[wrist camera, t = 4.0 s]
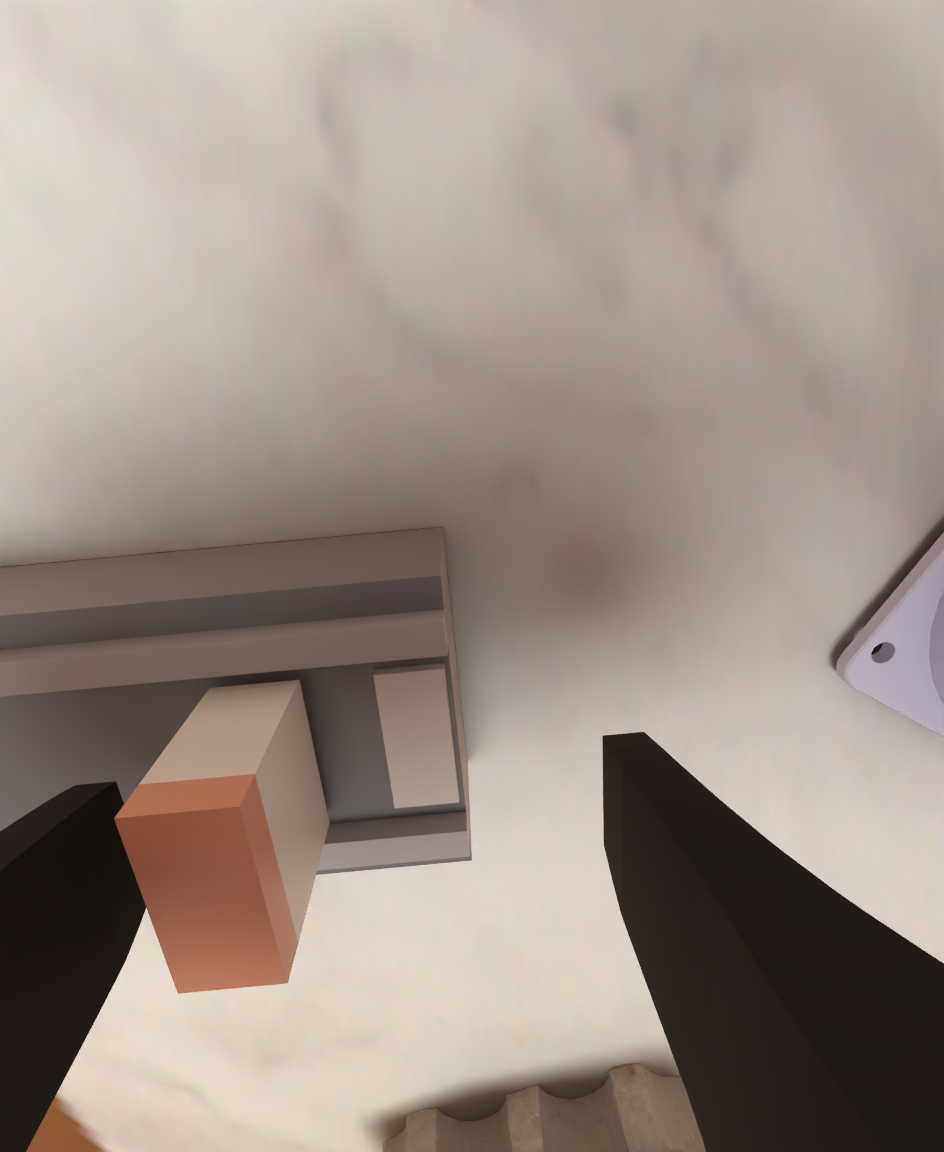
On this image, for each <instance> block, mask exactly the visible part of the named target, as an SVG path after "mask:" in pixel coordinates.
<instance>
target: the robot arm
mask: <svg viewBox="0 0 944 1152" xmlns="http://www.w3.org/2000/svg"><path fill="white" fill-rule="evenodd" d="M880 643H883V645H882V647H881V649H880V650H879V651H878V652H876V653H875V654H872V655H871V653H872V651H873V649H874V647H876V646H877V645H878V644H880ZM836 669H837V672H838V675H839V676H840V677H841V678H842V679H843V680H844V681H846V682H847V683H848V684H849V685H850V686H852V687H853V688H855V689H857V690H859V691H861V692H863V693H864V694H866V695H868V696H870V697H872V698H873V699H875V700H877V701H879V702H881V703H883V704H884V705H886V706H888V707H890V708H892V709H894V710H895V711H897V712H899V713H901V714H903V715H904V716H906V717H908V718H910V719H912V720H914V721H915V722H917V723H919V724H921V725H923V726H925V727H926V728H928V729H930V730H932V731H934V732H935V733H937V734H939V735H941V736H943V737H944V532H943V533H942V535H941V536H940V537H939V538H938V539H937V541H936V542H935V543H934V544H933V545H932V547H931V548H930V549H929V550H928V551H927V553H926V554H925V555H924V556H923V557H922V558H921V560H920V561H919V562H918V563H917V564H916V566H915V567H914V568H913V569H912V570H911V572H910V573H909V574H908V575H907V576H906V578H905V579H904V580H903V581H902V582H901V584H900V585H899V586H898V587H897V588H896V590H895V591H894V592H893V593H892V594H891V595H890V597H889V598H888V599H887V600H886V601H885V603H884V604H883V605H882V606H881V607H880V609H879V610H878V611H877V612H876V613H875V615H874V616H873V617H872V618H871V619H870V621H869V622H868V623H867V624H866V625H865V627H864V628H863V629H862V630H861V631H860V632H859V634H858V635H857V636H856V637H855V638H854V640H853V641H852V642H851V643H850V644H849V646H848V647H847V648H846V649H845V650H844V652H843V653H842V654H841V656H840V657H839V659H838V661H837V667H836ZM123 805H124V802H123V799H122V797H121V794H120V791H119V788H118V785H117V783H116V781H114V782H103V783H92V784H81V785H74V786H73V787H71V788H69V789H67V790H65V791H64V792H62V793H60V794H58V795H57V796H55V797H53V798H52V799H50V800H48V801H47V802H45V803H43V804H42V805H40V806H39V807H37V808H35V809H34V810H32V811H31V812H29V813H28V814H26V815H24V816H23V817H21V818H20V819H18V820H17V821H15V822H14V823H12V824H11V825H9V826H8V827H6V828H5V829H3V830H2V831H0V1152H26V1150H27V1149H28V1147H29V1145H30V1143H31V1141H32V1139H33V1137H34V1135H35V1133H36V1131H37V1129H38V1128H39V1126H40V1124H41V1122H42V1120H43V1118H44V1116H45V1114H46V1112H47V1111H48V1109H49V1107H50V1105H51V1103H52V1101H53V1099H54V1097H55V1095H56V1094H57V1092H58V1090H59V1088H60V1086H61V1084H62V1082H63V1080H64V1078H65V1076H66V1075H67V1073H68V1071H69V1069H70V1067H71V1065H72V1063H73V1061H74V1059H75V1057H76V1056H77V1054H78V1052H79V1050H80V1048H81V1046H82V1044H83V1042H84V1040H85V1039H86V1037H87V1035H88V1033H89V1031H90V1029H91V1027H92V1025H93V1023H94V1021H95V1019H96V1018H97V1016H98V1014H99V1012H100V1010H101V1008H102V1006H103V1004H104V1002H105V1000H106V998H107V996H108V994H109V992H110V990H111V988H112V987H113V985H114V983H115V981H116V979H117V977H118V975H119V973H120V971H121V969H122V967H123V965H124V963H125V961H126V958H127V956H128V953H129V951H130V948H131V946H132V943H133V941H134V938H135V936H136V933H137V931H138V928H139V926H140V923H141V920H142V918H143V915H144V912H145V909H146V905H145V902H144V899H143V896H142V894H141V891H140V888H139V885H138V883H137V880H136V877H135V875H134V872H133V869H132V866H131V864H130V861H129V858H128V855H127V853H126V850H125V847H124V844H123V842H122V839H121V836H120V833H119V831H118V828H117V825H116V823H115V820H114V818H115V816H116V815H117V814H118V812H119V811H120V809H121V808H122V807H123ZM603 810H604V847H605V851H606V855H607V859H608V863H609V867H610V872H611V876H612V880H613V884H614V888H615V891H616V895H617V899H618V903H619V907H620V911H621V914H622V917H623V920H624V923H625V926H626V928H627V931H628V934H629V937H630V940H631V942H632V945H633V948H634V951H635V953H636V956H637V959H638V962H639V964H640V967H641V970H642V973H643V975H644V978H645V981H646V983H647V986H648V989H649V991H650V994H651V997H652V1000H653V1002H654V1005H655V1008H656V1010H657V1013H658V1016H659V1019H660V1021H661V1024H662V1027H663V1029H664V1032H665V1035H666V1038H667V1040H668V1043H669V1046H670V1048H671V1051H672V1054H673V1057H674V1059H675V1062H676V1065H677V1067H678V1070H679V1073H680V1076H681V1078H682V1081H683V1084H684V1086H685V1089H686V1092H687V1095H688V1098H689V1101H690V1104H691V1107H692V1110H693V1113H694V1116H695V1119H696V1122H697V1125H698V1128H699V1131H700V1134H701V1137H702V1140H703V1143H704V1147H705V1150H706V1152H944V963H942V962H940V961H939V960H937V959H936V958H934V957H933V956H931V955H930V954H928V953H926V952H925V951H923V950H922V949H920V948H919V947H917V946H916V945H914V944H913V943H911V942H910V941H908V940H907V939H905V938H904V937H902V936H901V935H899V934H898V933H896V932H895V931H893V930H892V929H890V928H889V927H887V926H886V925H884V924H883V923H881V922H880V921H878V920H877V919H875V918H874V917H872V916H871V915H869V914H868V913H866V912H865V911H863V910H862V909H860V908H859V907H858V906H856V905H855V904H853V903H852V902H850V901H849V900H848V899H846V898H845V897H843V896H842V895H840V894H839V893H838V892H836V891H835V890H833V889H832V888H831V887H829V886H828V885H827V884H825V883H824V882H823V881H821V880H820V879H819V878H817V877H816V876H815V875H813V874H812V873H811V872H809V871H808V870H807V869H805V868H804V867H803V866H801V865H800V864H799V863H797V862H796V861H795V860H793V859H792V858H791V857H789V856H788V855H787V854H785V853H784V852H783V851H781V850H780V849H779V848H778V847H776V846H775V845H774V844H773V843H771V842H770V841H769V840H768V839H766V838H765V837H764V836H763V835H762V834H760V833H759V832H758V831H757V830H756V829H754V828H753V827H752V826H751V825H750V824H748V823H747V822H746V821H745V820H743V819H742V818H741V817H740V816H739V815H737V814H736V813H735V812H734V811H733V810H731V809H730V808H729V807H728V806H727V805H725V804H724V803H723V802H722V801H721V800H720V799H719V798H717V797H716V796H715V795H714V794H713V793H712V792H710V791H709V790H708V789H707V788H706V787H705V786H704V785H703V784H701V783H700V782H699V781H698V780H697V779H696V778H695V777H694V776H692V775H691V774H690V773H689V772H688V771H687V770H686V769H685V768H683V767H682V766H681V765H680V764H679V763H678V762H677V761H676V760H675V759H674V758H672V757H671V756H670V755H669V754H668V753H667V752H666V751H665V750H664V749H663V748H661V747H660V746H659V745H658V744H657V743H656V742H655V741H654V740H652V739H651V738H650V737H649V736H648V735H647V734H646V733H644V732H638V733H628V734H617V735H606V736H603Z"/></svg>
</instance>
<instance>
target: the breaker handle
mask: <svg viewBox="0 0 944 1152" xmlns="http://www.w3.org/2000/svg"><path fill="white" fill-rule="evenodd" d="M114 820H115V823H116V825H117V828H118V831H119V833H120V836H121V839H122V842H123V844H124V847H125V850H126V853H127V855H128V858H129V861H130V864H131V866H132V869H133V872H134V875H135V877H136V880H137V883H138V885H139V888H140V891H141V894H142V896H143V899H144V902H145V905H146V907H147V910H148V913H149V916H150V918H151V921H152V924H153V927H154V929H155V932H156V935H157V937H158V940H159V943H160V946H161V948H162V951H163V954H164V957H165V959H166V962H167V965H168V968H169V970H170V973H171V976H172V978H173V981H174V984H175V987H176V989H177V992H178V993H188V992H199V991H209V990H220V989H231V988H242V987H252V986H263V985H274V984H284V983H288V980H289V976H290V972H291V968H292V964H293V960H294V957H295V953H296V949H297V945H298V941H299V938H300V934H301V930H302V926H303V922H304V918H305V915H306V911H307V907H308V903H309V899H310V895H311V892H312V888H313V884H314V880H315V876H316V873H317V869H318V865H319V861H320V857H321V853H322V850H323V846H324V842H325V838H326V834H327V830H328V827H329V818H328V813H327V808H326V804H325V799H324V794H323V789H322V785H321V780H320V775H319V770H318V766H317V761H316V756H315V751H314V747H313V742H312V737H311V732H310V728H309V723H308V718H307V713H306V709H305V704H304V699H303V694H302V689H301V685H300V680H291V681H280V682H269V683H258V684H248V685H237V686H226V687H215V688H209V690H208V691H207V692H206V694H205V695H204V696H203V698H202V699H201V700H200V702H199V703H198V705H197V706H196V707H195V709H194V710H193V711H192V713H191V714H190V715H189V717H188V718H187V720H186V721H185V722H184V724H183V725H182V726H181V728H180V729H179V730H178V732H177V733H176V735H175V736H174V737H173V739H172V740H171V741H170V743H169V744H168V745H167V747H166V748H165V749H164V751H163V752H162V754H161V755H160V756H159V758H158V759H157V760H156V762H155V763H154V764H153V766H152V767H151V769H150V770H149V771H148V773H147V774H146V775H145V777H144V778H143V779H142V781H141V782H140V784H139V785H138V786H137V788H136V789H135V790H134V792H133V793H132V794H131V796H130V797H129V799H128V800H127V801H126V803H125V804H124V805H123V807H122V808H121V809H120V811H119V812H118V814H117V815H116V816H115V818H114Z"/></svg>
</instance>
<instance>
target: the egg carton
mask: <svg viewBox="0 0 944 1152" xmlns="http://www.w3.org/2000/svg"><path fill="white" fill-rule="evenodd" d="M383 1152H706V1150H705V1147H704V1143H703V1140H702V1137H701V1134H700V1131H699V1128H698V1125H697V1122H696V1119H695V1116H694V1113H693V1110H692V1107H691V1104H690V1101H689V1098H688V1095H687V1092H686V1089H685V1086H684V1084H683V1081H682V1078H681V1076H662V1075H657V1074H655V1073H653V1072H651V1071H649V1070H647V1069H646V1068H645V1066H644V1065H643V1064H630V1065H624V1066H621V1067H617V1068H613V1069H610V1070H609V1075H608V1078H607V1080H606V1081H605V1083H604V1085H603V1086H602V1087H601V1088H599V1089H598V1090H597V1091H595V1092H593V1093H591V1094H589V1095H586V1096H583V1097H580V1098H573V1099H566V1098H559V1097H554V1096H551V1095H548V1094H547V1093H545V1092H544V1091H542V1090H541V1089H540V1088H539V1086H538V1085H534V1086H531V1087H528V1088H525V1089H522V1090H520V1091H517V1092H514V1093H510V1094H508V1095H506V1100H505V1103H504V1105H503V1107H502V1108H501V1110H499V1111H498V1112H497V1113H495V1114H493V1115H491V1116H489V1117H487V1118H484V1119H481V1120H477V1121H460V1120H456V1119H453V1118H450V1117H448V1116H446V1115H444V1114H443V1113H442V1112H440V1111H439V1110H438V1109H437V1108H432V1109H423V1110H420V1111H416V1112H413V1113H410V1114H408V1115H406V1125H405V1128H404V1130H403V1131H402V1132H400V1133H399V1134H398V1135H397V1136H395V1137H393V1138H391V1139H389V1140H387V1141H385V1142H384V1143H383Z"/></svg>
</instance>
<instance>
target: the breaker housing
mask: <svg viewBox="0 0 944 1152" xmlns="http://www.w3.org/2000/svg"><path fill="white" fill-rule="evenodd" d="M291 680H300V685H301V689H302V694H303V699H304V704H305V709H306V713H307V718H308V723H309V728H310V732H311V737H312V742H313V747H314V751H315V756H316V761H317V766H318V770H319V775H320V780H321V785H322V789H323V794H324V799H325V804H326V808H327V813H328V818H329V827H328V830H327V834H326V838H325V842H324V846H323V850H322V853H321V857H320V861H319V865H318V869H317V873H316V875H318V874H329V873H340V872H351V871H361V870H372V869H383V868H394V867H404V866H415V865H426V864H437V863H447V862H458V861H469V860H472V855H471V831H470V807H469V783H468V762H467V752H466V743H465V734H464V724H463V715H462V705H461V696H460V686H459V677H458V667H457V658H456V648H455V639H454V629H453V620H452V611H451V601H450V592H449V582H448V573H447V563H446V554H445V544H444V535H443V527H436V528H425V529H414V530H403V531H392V532H382V533H371V534H360V535H349V536H338V537H327V538H316V539H305V540H294V541H283V542H272V543H261V544H250V545H240V546H229V547H218V548H207V549H196V550H185V551H174V552H163V553H152V554H141V555H130V556H119V557H108V558H98V559H87V560H76V561H65V562H54V563H43V564H32V565H21V566H10V567H0V831H2V830H3V829H5V828H6V827H8V826H9V825H11V824H12V823H14V822H15V821H17V820H18V819H20V818H21V817H23V816H24V815H26V814H28V813H29V812H31V811H32V810H34V809H35V808H37V807H39V806H40V805H42V804H43V803H45V802H47V801H48V800H50V799H52V798H53V797H55V796H57V795H58V794H60V793H62V792H64V791H65V790H67V789H69V788H71V787H73V786H74V785H81V784H92V783H103V782H114V781H116V783H117V785H118V788H119V791H120V794H121V797H122V799H123V802H124V804H125V803H126V801H127V800H128V799H129V797H130V796H131V794H132V793H133V792H134V790H135V789H136V788H137V786H138V785H139V784H140V782H141V781H142V779H143V778H144V777H145V775H146V774H147V773H148V771H149V770H150V769H151V767H152V766H153V764H154V763H155V762H156V760H157V759H158V758H159V756H160V755H161V754H162V752H163V751H164V749H165V748H166V747H167V745H168V744H169V743H170V741H171V740H172V739H173V737H174V736H175V735H176V733H177V732H178V730H179V729H180V728H181V726H182V725H183V724H184V722H185V721H186V720H187V718H188V717H189V715H190V714H191V713H192V711H193V710H194V709H195V707H196V706H197V705H198V703H199V702H200V700H201V699H202V698H203V696H204V695H205V694H206V692H207V691H208V690H209V688H215V687H226V686H237V685H248V684H258V683H269V682H280V681H291Z"/></svg>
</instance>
